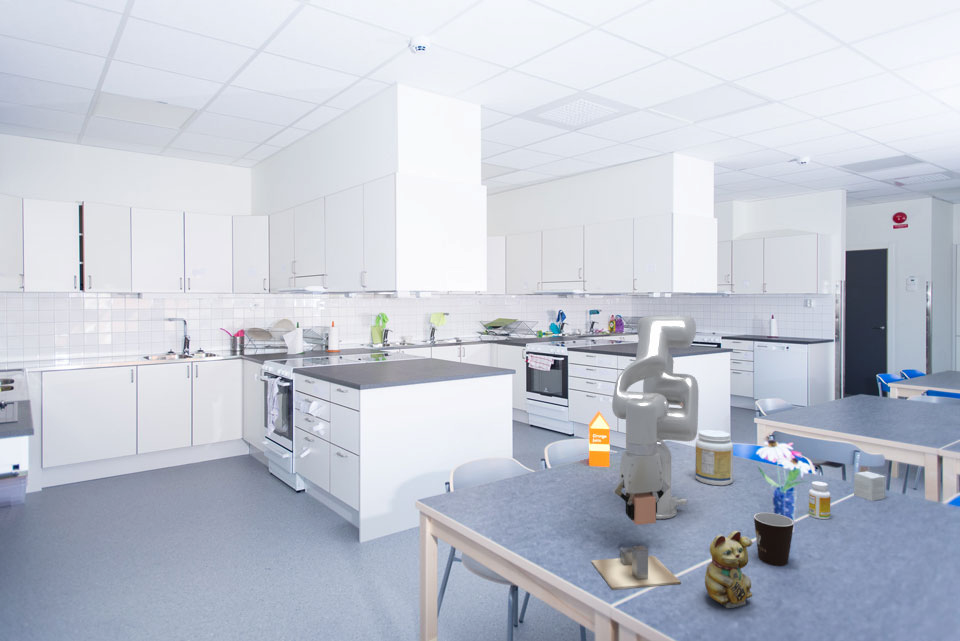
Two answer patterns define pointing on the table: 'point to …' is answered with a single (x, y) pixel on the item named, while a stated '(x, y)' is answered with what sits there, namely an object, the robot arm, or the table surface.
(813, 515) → the supplement bottle
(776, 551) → the coffee mug
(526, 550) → the table surface
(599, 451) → the orange juice
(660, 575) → the board
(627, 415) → the robot arm
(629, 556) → the silver gray cube
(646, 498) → the salmon pink toy brick
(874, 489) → the pale grey block
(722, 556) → the decorative figurine
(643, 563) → the post
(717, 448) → the supplement tub
